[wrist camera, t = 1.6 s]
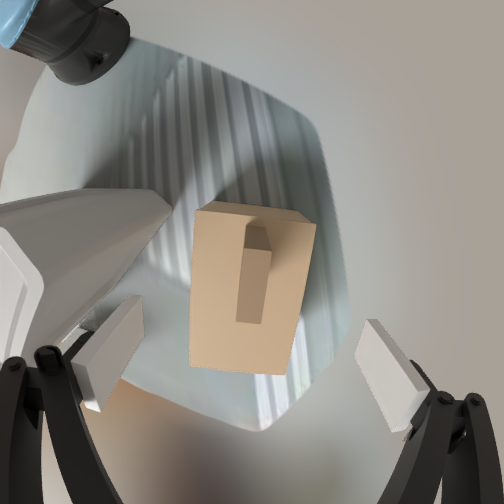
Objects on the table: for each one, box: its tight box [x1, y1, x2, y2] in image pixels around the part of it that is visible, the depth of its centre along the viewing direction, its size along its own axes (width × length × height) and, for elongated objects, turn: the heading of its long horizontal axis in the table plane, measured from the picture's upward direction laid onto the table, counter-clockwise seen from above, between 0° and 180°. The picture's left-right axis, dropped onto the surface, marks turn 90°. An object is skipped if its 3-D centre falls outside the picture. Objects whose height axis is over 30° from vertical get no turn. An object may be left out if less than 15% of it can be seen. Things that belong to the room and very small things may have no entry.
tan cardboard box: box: [189, 209, 317, 375], centre depth 27 cm, size 20×13×10 cm, turn 173°
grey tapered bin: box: [0, 188, 173, 370], centre depth 25 cm, size 19×15×28 cm
